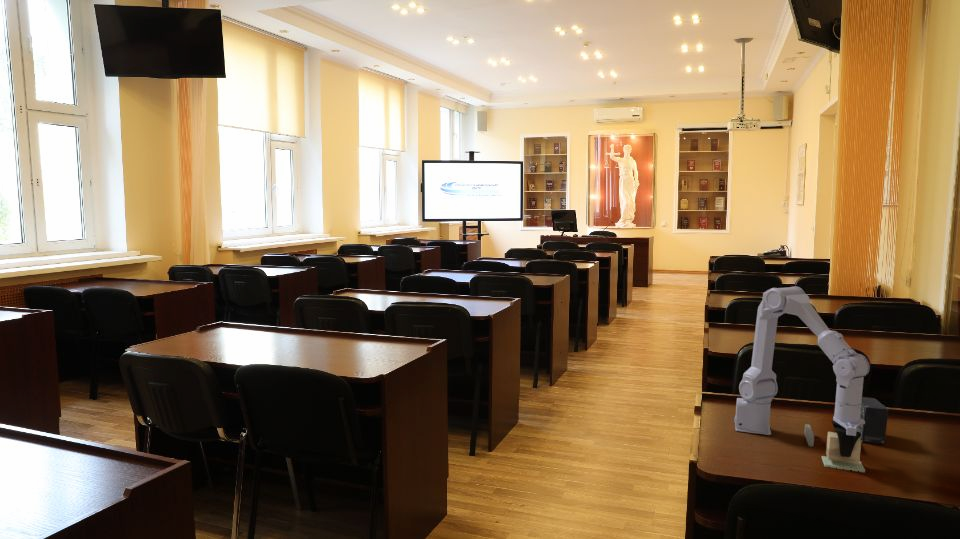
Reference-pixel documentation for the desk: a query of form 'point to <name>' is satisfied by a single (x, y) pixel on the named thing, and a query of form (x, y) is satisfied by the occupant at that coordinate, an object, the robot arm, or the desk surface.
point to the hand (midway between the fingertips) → (843, 453)
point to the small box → (873, 421)
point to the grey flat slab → (809, 435)
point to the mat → (843, 465)
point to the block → (834, 450)
